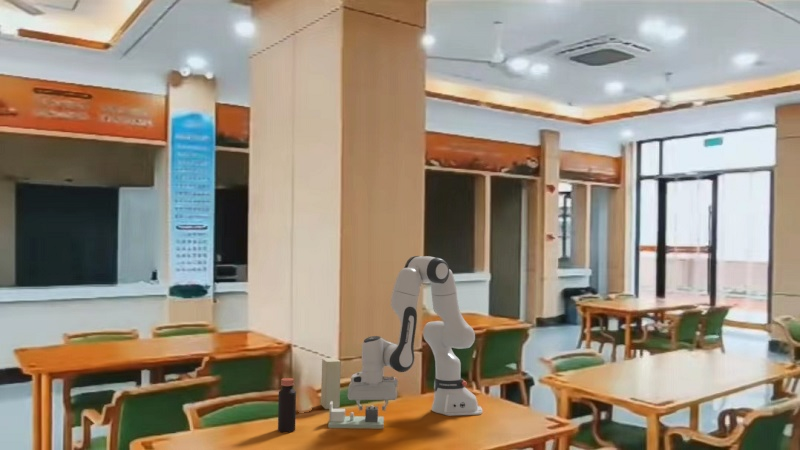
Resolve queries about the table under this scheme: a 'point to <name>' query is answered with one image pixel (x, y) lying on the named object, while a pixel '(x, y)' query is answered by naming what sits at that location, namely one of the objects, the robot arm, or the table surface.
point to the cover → (336, 414)
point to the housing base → (357, 422)
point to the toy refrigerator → (330, 382)
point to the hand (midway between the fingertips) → (372, 410)
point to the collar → (371, 414)
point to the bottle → (287, 406)
